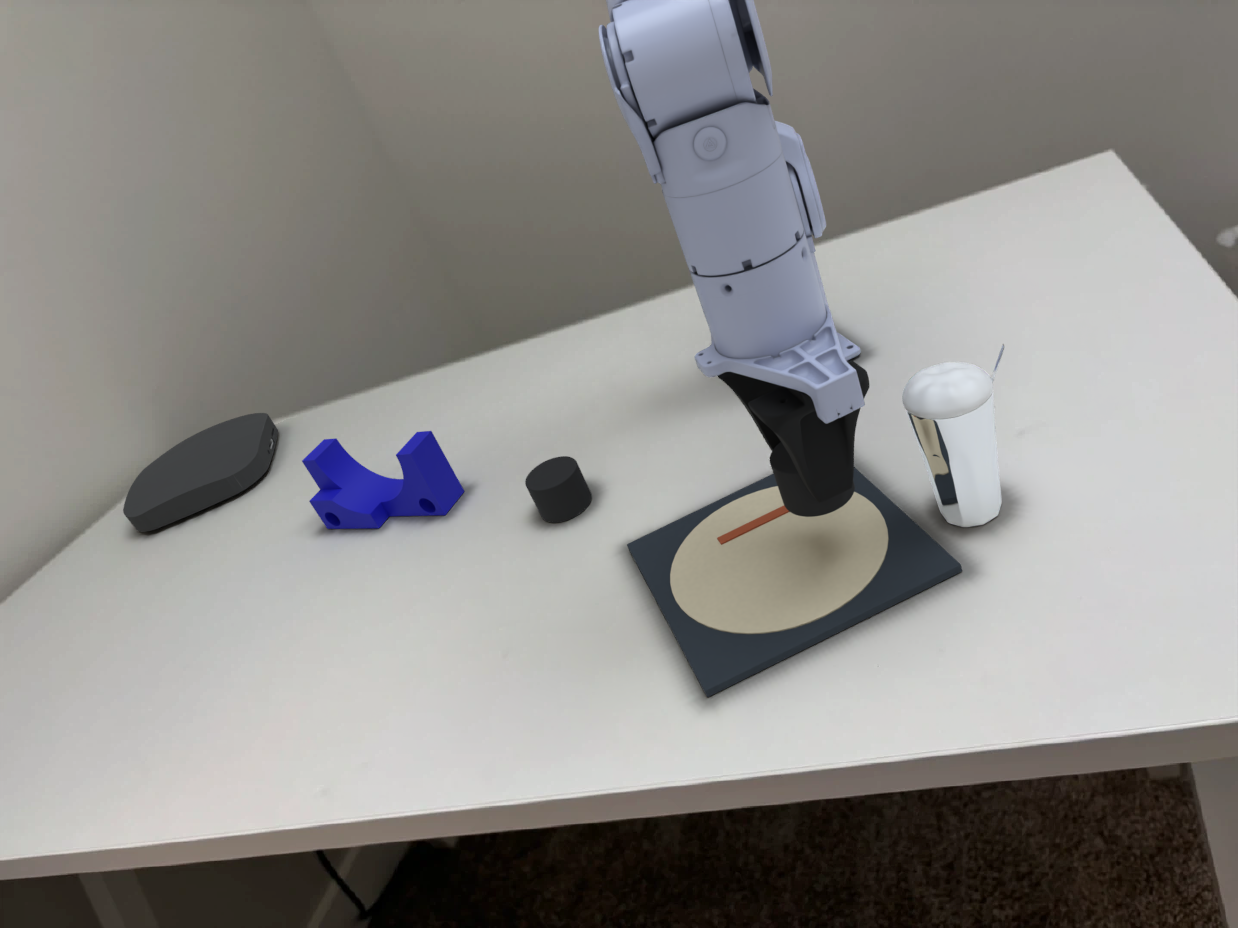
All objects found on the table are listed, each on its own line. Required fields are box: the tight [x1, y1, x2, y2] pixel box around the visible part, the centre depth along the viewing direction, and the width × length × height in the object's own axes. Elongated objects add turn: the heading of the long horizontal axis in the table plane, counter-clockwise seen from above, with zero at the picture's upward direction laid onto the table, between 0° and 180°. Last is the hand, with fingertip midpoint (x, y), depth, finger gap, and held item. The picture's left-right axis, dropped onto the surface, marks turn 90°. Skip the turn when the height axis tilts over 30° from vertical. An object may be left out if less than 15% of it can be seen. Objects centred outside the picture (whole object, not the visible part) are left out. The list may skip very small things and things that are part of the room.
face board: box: [626, 466, 963, 698], centre depth 56 cm, size 15×15×1 cm
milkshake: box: [901, 343, 1005, 528], centre depth 51 cm, size 4×5×10 cm
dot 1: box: [524, 455, 593, 524], centre depth 69 cm, size 4×4×3 cm
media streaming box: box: [122, 412, 279, 533], centre depth 97 cm, size 15×15×3 cm
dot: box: [769, 442, 855, 517], centre depth 52 cm, size 4×4×3 cm
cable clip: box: [301, 430, 465, 530], centre depth 77 cm, size 12×4×6 cm, turn 65°
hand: (814, 473), depth 52 cm, fingers closed on dot, 4 cm apart
